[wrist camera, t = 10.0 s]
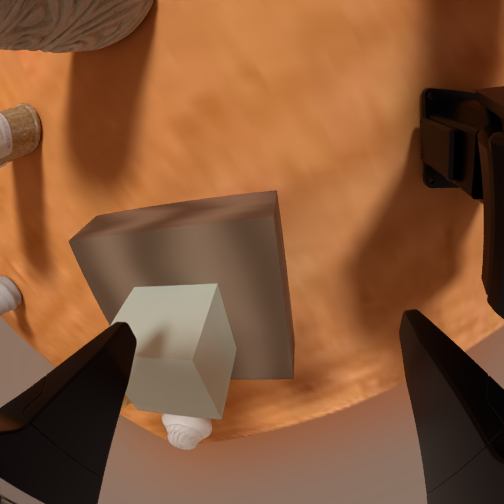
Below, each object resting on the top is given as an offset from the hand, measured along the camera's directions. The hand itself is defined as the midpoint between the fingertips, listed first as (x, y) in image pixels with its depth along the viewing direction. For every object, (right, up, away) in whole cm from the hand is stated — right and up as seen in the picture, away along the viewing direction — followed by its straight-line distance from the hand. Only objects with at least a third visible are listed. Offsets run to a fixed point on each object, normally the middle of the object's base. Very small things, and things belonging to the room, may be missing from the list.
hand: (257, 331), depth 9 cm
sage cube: (-5, -2, +12) cm, 13 cm away
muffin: (-7, -16, +25) cm, 31 cm away
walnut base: (-4, 0, +15) cm, 16 cm away
